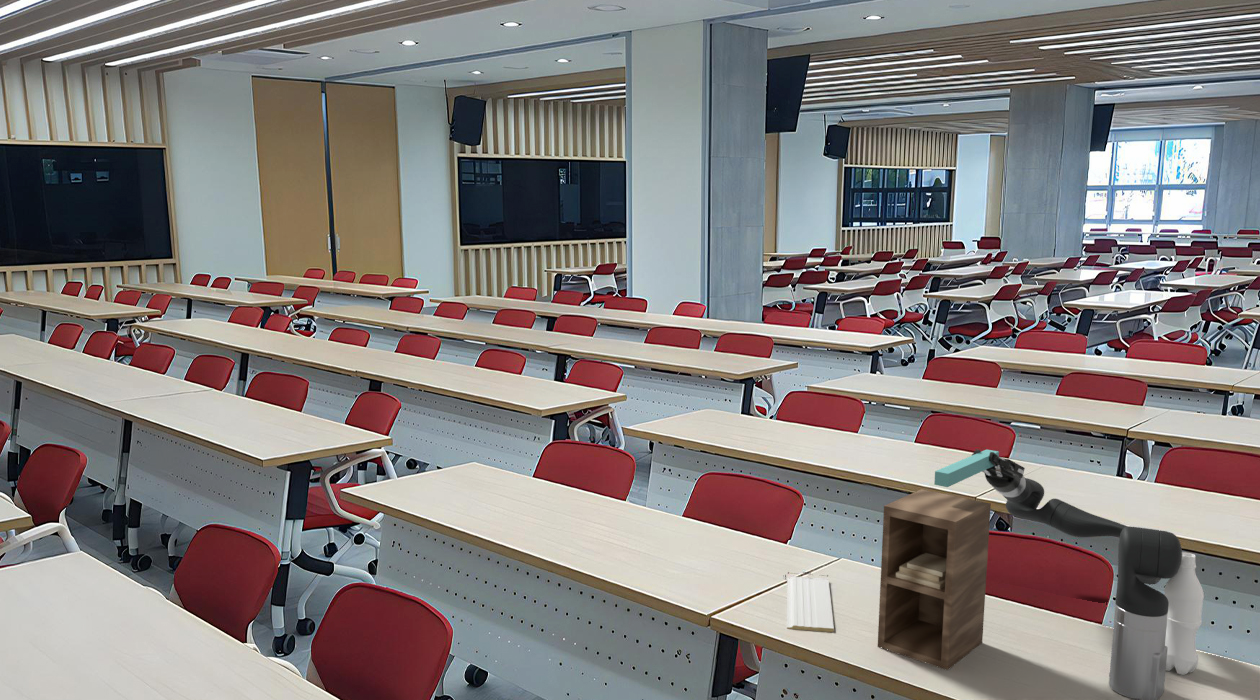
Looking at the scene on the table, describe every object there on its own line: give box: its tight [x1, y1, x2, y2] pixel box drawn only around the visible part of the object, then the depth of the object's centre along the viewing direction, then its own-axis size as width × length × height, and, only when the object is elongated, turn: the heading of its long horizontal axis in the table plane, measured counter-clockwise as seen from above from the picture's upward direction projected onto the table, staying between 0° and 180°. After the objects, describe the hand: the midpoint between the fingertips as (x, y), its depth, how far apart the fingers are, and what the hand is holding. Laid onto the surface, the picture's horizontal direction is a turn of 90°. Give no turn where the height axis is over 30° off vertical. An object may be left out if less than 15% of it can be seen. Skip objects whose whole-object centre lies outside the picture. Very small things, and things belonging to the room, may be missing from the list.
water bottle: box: [1163, 551, 1205, 675], centre depth 197 cm, size 7×7×25 cm
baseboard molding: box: [784, 571, 835, 633], centre depth 231 cm, size 31×3×12 cm
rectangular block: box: [934, 449, 1000, 488], centre depth 216 cm, size 3×28×3 cm, turn 137°
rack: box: [877, 488, 992, 671], centre depth 207 cm, size 16×18×32 cm
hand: (983, 454), depth 222 cm, fingers closed on rectangular block, 3 cm apart
